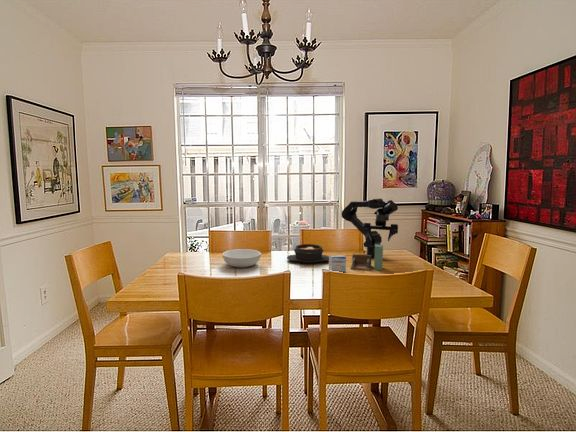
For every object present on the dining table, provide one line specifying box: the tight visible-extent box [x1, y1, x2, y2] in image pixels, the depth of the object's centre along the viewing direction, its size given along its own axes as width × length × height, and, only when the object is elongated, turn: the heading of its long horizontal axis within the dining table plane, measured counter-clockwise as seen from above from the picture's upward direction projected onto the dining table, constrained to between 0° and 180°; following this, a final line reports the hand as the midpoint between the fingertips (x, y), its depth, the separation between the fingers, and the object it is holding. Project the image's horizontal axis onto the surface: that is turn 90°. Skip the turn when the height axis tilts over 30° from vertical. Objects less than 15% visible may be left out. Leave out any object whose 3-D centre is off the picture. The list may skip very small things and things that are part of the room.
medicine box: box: [328, 254, 347, 272], centre depth 182 cm, size 8×4×9 cm, turn 101°
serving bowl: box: [222, 248, 262, 268], centre depth 195 cm, size 21×21×7 cm
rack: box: [350, 253, 372, 271], centre depth 192 cm, size 10×10×6 cm
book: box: [373, 244, 384, 271], centre depth 189 cm, size 5×4×12 cm
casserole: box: [286, 243, 330, 264], centre depth 205 cm, size 25×19×8 cm
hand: (379, 240), depth 195 cm, fingers open, 9 cm apart
